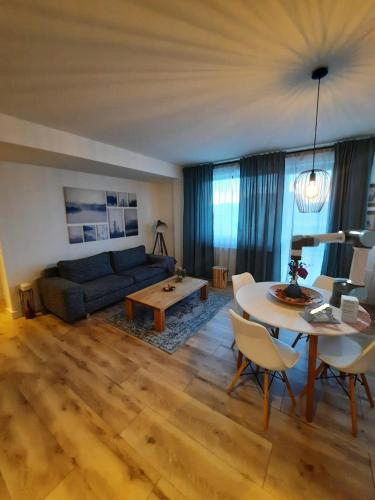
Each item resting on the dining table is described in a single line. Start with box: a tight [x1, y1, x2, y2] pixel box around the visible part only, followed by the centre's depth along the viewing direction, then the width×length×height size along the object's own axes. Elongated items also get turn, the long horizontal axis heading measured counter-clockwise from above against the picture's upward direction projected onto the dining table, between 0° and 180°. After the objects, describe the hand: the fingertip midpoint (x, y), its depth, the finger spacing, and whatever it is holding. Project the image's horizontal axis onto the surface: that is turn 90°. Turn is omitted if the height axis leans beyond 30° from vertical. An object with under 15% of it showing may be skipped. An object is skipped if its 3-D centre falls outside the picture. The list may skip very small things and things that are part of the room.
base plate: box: [297, 306, 341, 324], centre depth 153 cm, size 22×15×7 cm
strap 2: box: [311, 303, 331, 314], centre depth 149 cm, size 15×3×1 cm, turn 86°
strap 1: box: [309, 299, 326, 311], centre depth 157 cm, size 15×3×1 cm, turn 85°
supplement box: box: [339, 295, 360, 325], centre depth 150 cm, size 10×9×17 cm
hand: (294, 281), depth 161 cm, fingers open, 13 cm apart
